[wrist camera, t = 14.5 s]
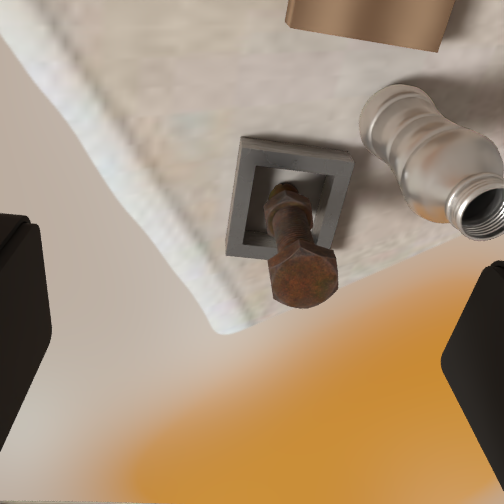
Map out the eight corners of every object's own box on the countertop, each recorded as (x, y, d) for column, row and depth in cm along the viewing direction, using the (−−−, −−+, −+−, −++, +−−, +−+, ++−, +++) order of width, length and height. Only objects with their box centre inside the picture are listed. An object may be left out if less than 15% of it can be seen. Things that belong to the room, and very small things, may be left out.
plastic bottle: (436, 118, 44) (567, 217, 28) (375, 162, 46) (462, 279, 30) (402, 62, 42) (526, 135, 25) (339, 112, 44) (413, 210, 27)
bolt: (319, 183, 47) (354, 266, 35) (298, 224, 50) (324, 316, 37) (266, 164, 46) (282, 244, 33) (247, 207, 48) (256, 297, 36)
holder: (347, 151, 46) (354, 162, 43) (320, 250, 52) (325, 265, 49) (240, 136, 44) (241, 147, 42) (225, 240, 50) (225, 255, 48)
